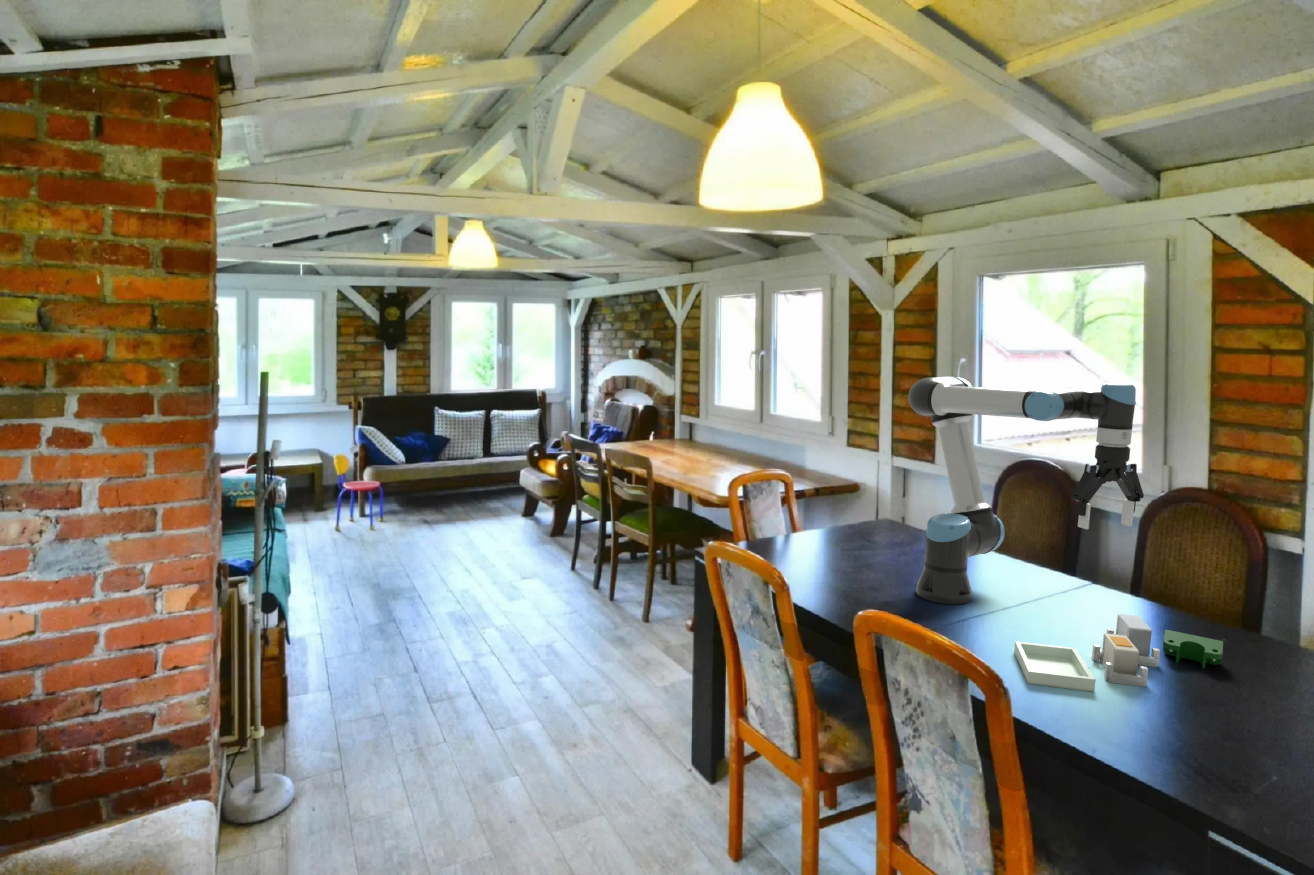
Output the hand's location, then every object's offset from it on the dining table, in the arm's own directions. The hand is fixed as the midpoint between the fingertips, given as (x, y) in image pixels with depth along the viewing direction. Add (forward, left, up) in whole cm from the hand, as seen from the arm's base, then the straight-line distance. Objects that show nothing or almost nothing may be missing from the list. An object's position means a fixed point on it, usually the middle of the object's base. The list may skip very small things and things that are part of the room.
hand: (1104, 526), depth 192 cm
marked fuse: (-2, -28, -27) cm, 39 cm away
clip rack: (+1, -22, -27) cm, 35 cm away
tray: (-17, -32, -27) cm, 45 cm away
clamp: (+16, -17, -27) cm, 36 cm away
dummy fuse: (+4, -16, -27) cm, 32 cm away
